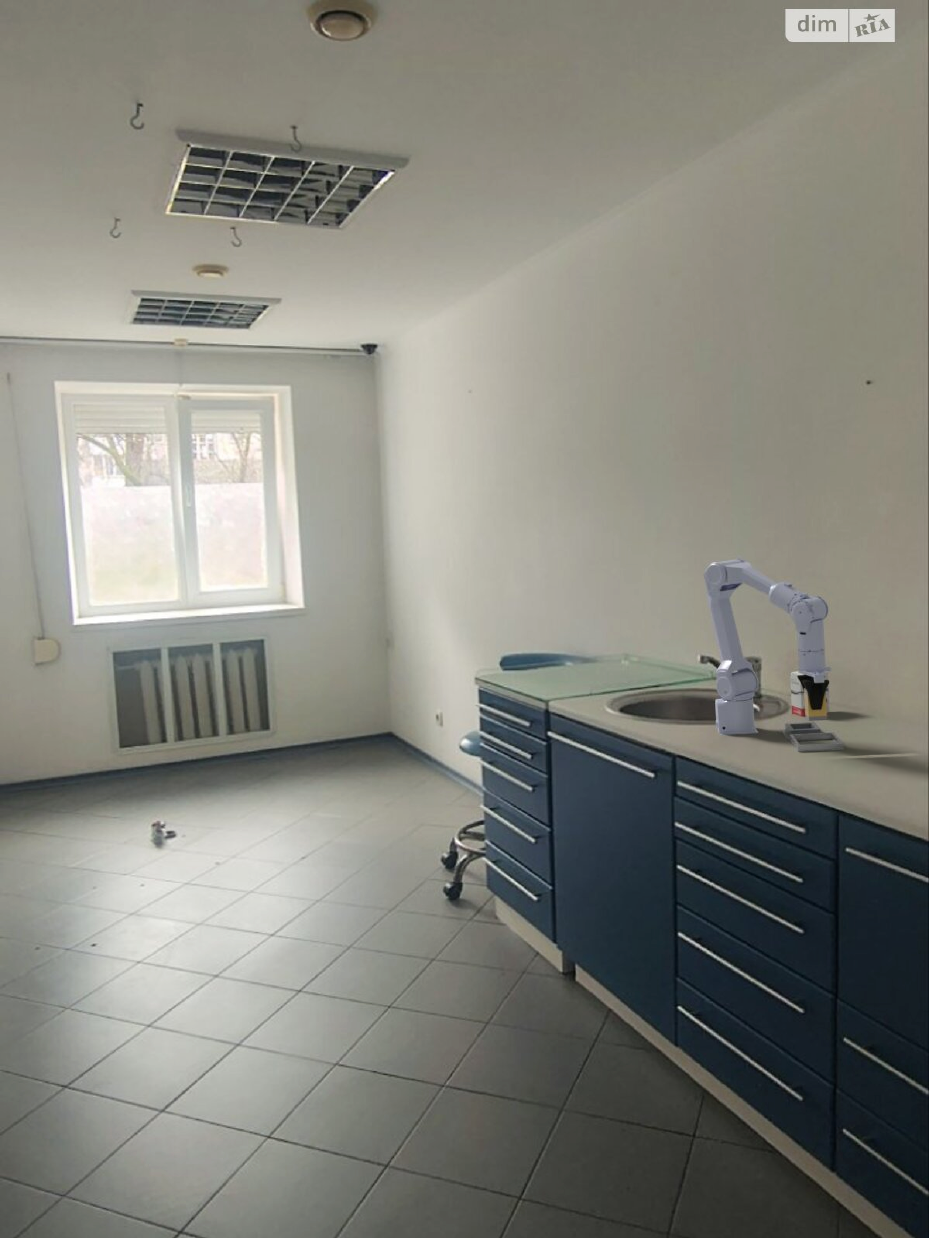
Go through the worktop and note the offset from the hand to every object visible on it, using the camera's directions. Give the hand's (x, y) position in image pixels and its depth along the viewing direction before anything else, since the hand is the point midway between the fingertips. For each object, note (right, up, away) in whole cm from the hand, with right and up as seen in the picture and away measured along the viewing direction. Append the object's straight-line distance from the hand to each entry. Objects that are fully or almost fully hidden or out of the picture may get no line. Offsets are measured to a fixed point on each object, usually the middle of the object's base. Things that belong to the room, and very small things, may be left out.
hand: (814, 707), depth 203 cm
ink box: (+11, -5, +30) cm, 33 cm away
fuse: (+1, -3, 0) cm, 3 cm away
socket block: (+2, -8, +12) cm, 14 cm away
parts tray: (+1, -10, +1) cm, 10 cm away
